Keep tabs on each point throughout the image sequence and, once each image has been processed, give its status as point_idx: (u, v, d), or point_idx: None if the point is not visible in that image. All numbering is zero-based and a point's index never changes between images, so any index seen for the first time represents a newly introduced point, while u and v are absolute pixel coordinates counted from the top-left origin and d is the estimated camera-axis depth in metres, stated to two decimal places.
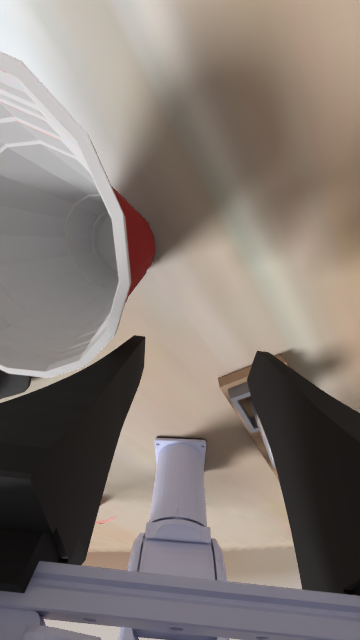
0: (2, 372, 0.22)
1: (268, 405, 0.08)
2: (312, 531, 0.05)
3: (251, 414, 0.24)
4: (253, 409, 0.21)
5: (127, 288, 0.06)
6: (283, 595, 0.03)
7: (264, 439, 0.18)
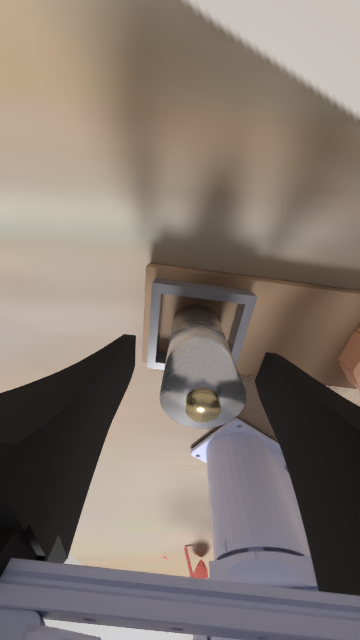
0: None
1: (279, 406, 0.08)
2: (328, 533, 0.05)
3: None
4: None
5: None
6: (283, 595, 0.03)
7: None
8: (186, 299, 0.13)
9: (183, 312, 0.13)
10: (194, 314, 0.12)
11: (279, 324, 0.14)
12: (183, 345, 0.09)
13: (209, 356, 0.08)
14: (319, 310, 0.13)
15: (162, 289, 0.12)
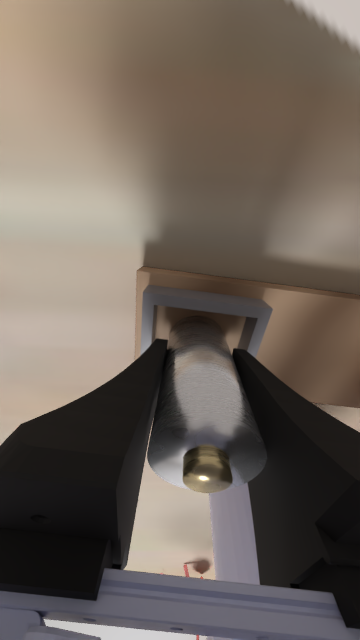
0: None
1: None
2: (269, 526, 0.05)
3: None
4: None
5: None
6: (283, 595, 0.03)
7: None
8: (186, 310, 0.11)
9: (181, 326, 0.10)
10: (195, 329, 0.10)
11: (295, 339, 0.12)
12: (180, 378, 0.07)
13: (216, 401, 0.05)
14: (344, 323, 0.11)
15: (155, 300, 0.09)
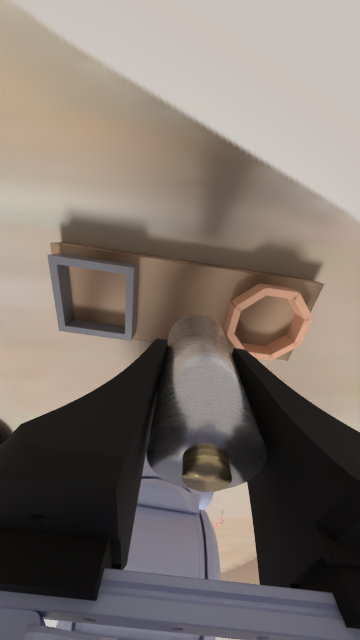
0: None
1: None
2: (269, 526, 0.05)
3: (124, 322, 0.18)
4: None
5: None
6: (283, 595, 0.03)
7: None
8: (88, 272, 0.16)
9: (181, 325, 0.10)
10: (195, 328, 0.10)
11: (169, 295, 0.17)
12: (179, 377, 0.07)
13: (215, 400, 0.05)
14: (198, 283, 0.16)
15: (57, 260, 0.14)
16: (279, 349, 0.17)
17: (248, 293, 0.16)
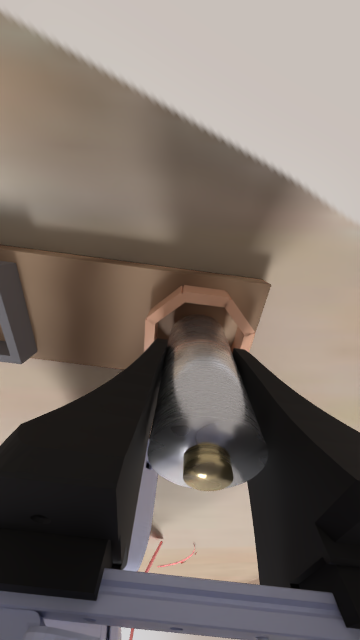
0: None
1: None
2: (269, 526, 0.05)
3: None
4: None
5: None
6: (283, 595, 0.03)
7: None
8: None
9: (182, 324, 0.10)
10: (195, 328, 0.10)
11: (67, 303, 0.12)
12: (180, 376, 0.07)
13: (216, 399, 0.05)
14: (101, 286, 0.12)
15: None
16: None
17: (166, 299, 0.11)
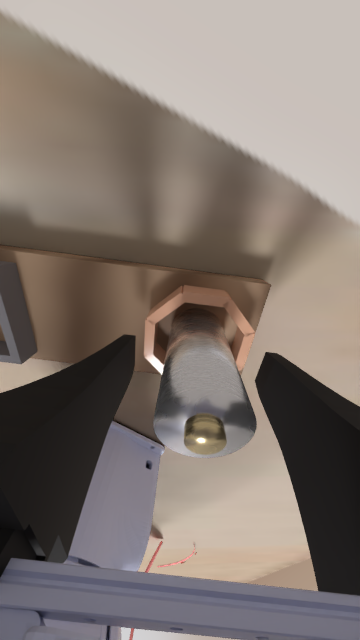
0: None
1: (278, 406, 0.08)
2: (328, 533, 0.05)
3: None
4: None
5: None
6: (283, 595, 0.03)
7: None
8: None
9: (182, 317, 0.11)
10: (195, 320, 0.10)
11: (67, 303, 0.12)
12: (181, 360, 0.07)
13: (212, 376, 0.06)
14: (101, 286, 0.12)
15: None
16: None
17: (166, 299, 0.11)
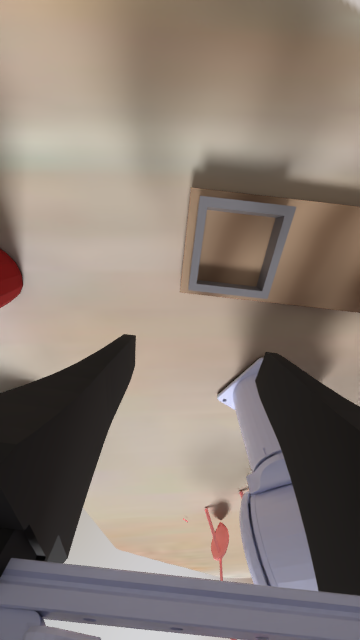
0: None
1: (279, 406, 0.08)
2: (329, 533, 0.05)
3: (251, 282, 0.16)
4: None
5: None
6: (283, 595, 0.03)
7: None
8: (226, 222, 0.14)
9: None
10: None
11: (311, 246, 0.15)
12: None
13: None
14: (349, 228, 0.14)
15: (209, 202, 0.13)
16: None
17: None
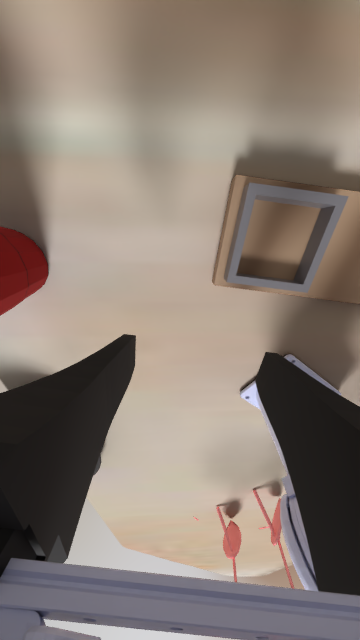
0: None
1: (279, 406, 0.08)
2: (328, 533, 0.05)
3: (288, 275, 0.16)
4: None
5: None
6: (283, 595, 0.03)
7: None
8: (269, 212, 0.14)
9: None
10: None
11: (354, 239, 0.14)
12: None
13: None
14: None
15: (258, 189, 0.12)
16: None
17: None
